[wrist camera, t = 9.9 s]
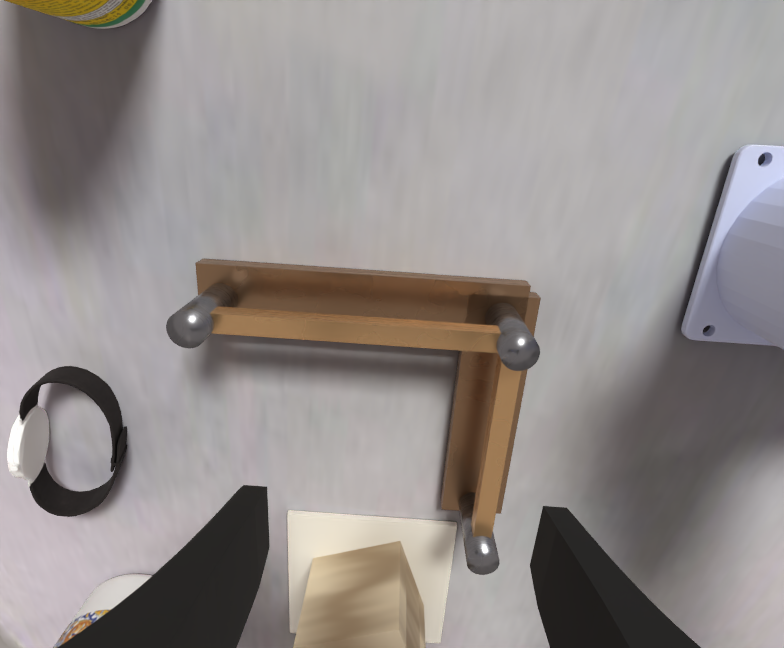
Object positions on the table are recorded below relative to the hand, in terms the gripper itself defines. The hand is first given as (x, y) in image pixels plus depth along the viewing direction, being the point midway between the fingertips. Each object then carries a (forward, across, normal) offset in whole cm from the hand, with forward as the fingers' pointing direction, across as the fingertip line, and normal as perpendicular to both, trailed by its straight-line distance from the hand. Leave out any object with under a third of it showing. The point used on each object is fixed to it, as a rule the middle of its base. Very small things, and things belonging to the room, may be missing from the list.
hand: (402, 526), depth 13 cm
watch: (+11, +16, +5) cm, 20 cm away
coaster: (+10, +1, +14) cm, 17 cm away
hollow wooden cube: (+10, +1, +14) cm, 17 cm away
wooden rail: (+10, +2, +2) cm, 11 cm away
